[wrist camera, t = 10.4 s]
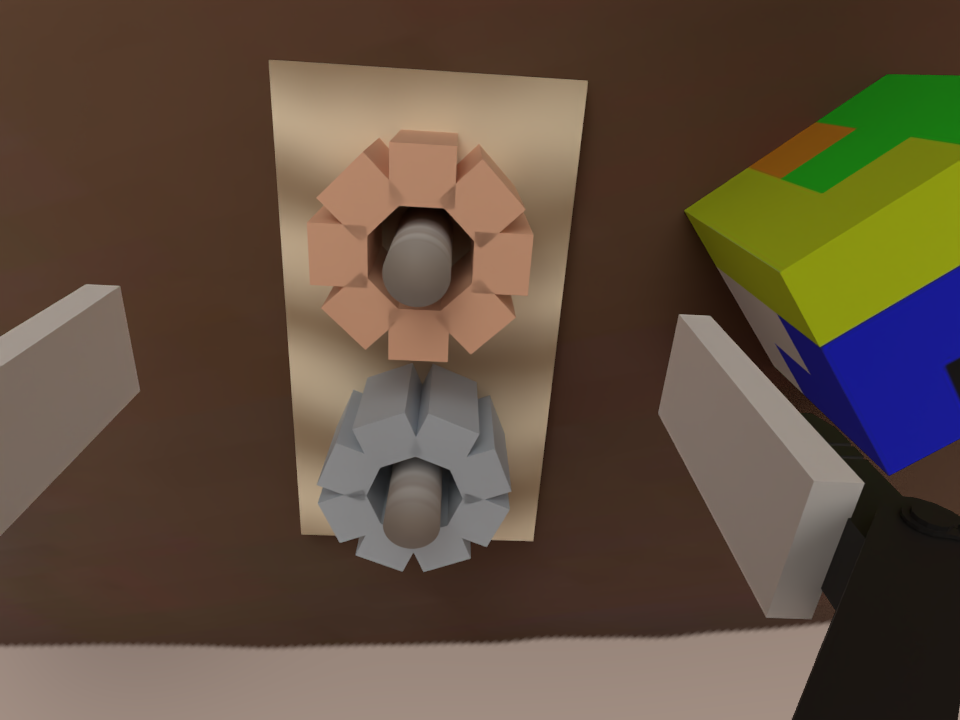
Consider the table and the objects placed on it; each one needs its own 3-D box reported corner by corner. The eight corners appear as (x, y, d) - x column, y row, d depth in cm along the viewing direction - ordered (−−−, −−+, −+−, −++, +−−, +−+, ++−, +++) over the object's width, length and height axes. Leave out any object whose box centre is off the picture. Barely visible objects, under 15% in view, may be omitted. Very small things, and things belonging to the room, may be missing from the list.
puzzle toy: (773, 365, 34) (888, 476, 25) (683, 210, 30) (779, 272, 21) (959, 255, 31) (1162, 332, 22) (886, 74, 28) (1091, 78, 19)
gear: (312, 395, 32) (287, 450, 28) (470, 343, 31) (471, 391, 27) (377, 522, 36) (365, 589, 31) (521, 478, 35) (531, 540, 30)
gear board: (276, 60, 27) (205, 57, 19) (582, 80, 28) (628, 85, 20) (306, 520, 37) (266, 635, 29) (530, 527, 37) (548, 641, 30)
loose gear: (329, 124, 27) (302, 136, 22) (528, 137, 27) (541, 151, 23) (335, 312, 30) (313, 356, 26) (511, 321, 31) (520, 365, 26)
